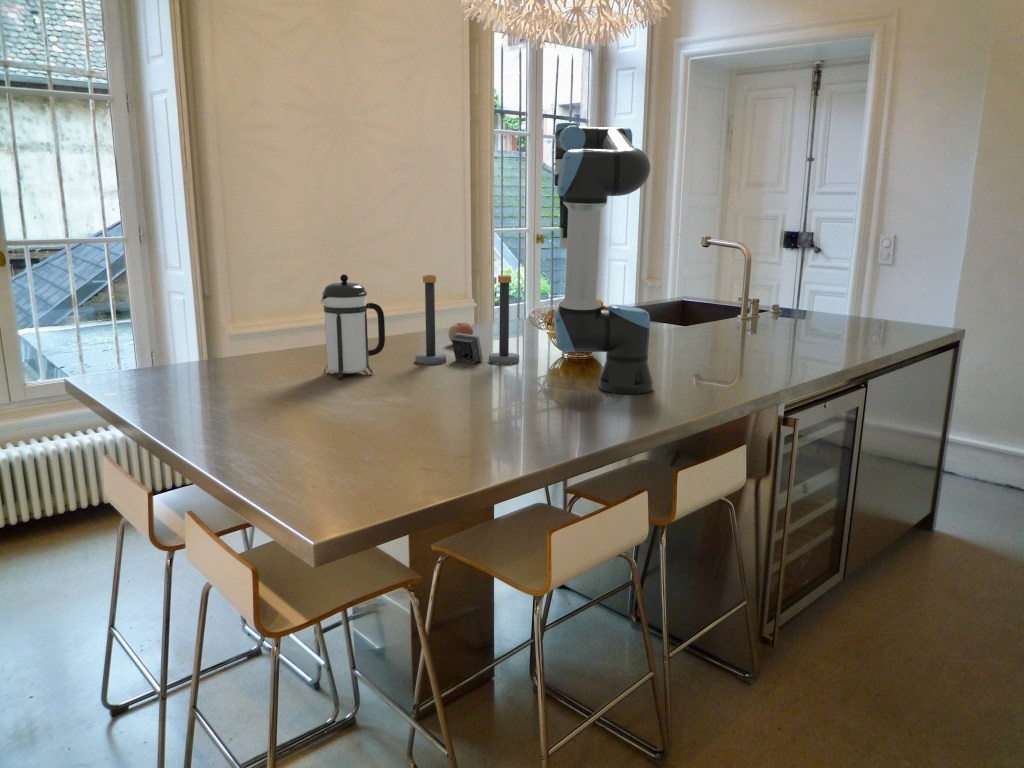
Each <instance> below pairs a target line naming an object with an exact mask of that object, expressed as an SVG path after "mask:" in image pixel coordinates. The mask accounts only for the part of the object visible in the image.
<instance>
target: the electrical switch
mask: <svg viewBox="0 0 1024 768" xmlns="http://www.w3.org/2000/svg"><path fill="white" fill-rule="evenodd" d="M451 344H452V348H453V349H452V350H453V353H454V357H455V358H454V359H455V361H456V360H460V361H459V362H462V361H468V362H474V363H473V364H476V363H479V362H478V361H481V362H483V361H484V359H483V352H482V348H481V347H482V346H481V342H480V336H479V335H476V334H473V335H469V334H461V333H456V334H455V337H454V339H452V342H451ZM468 362H467V363H468ZM475 362H476V363H475Z"/></svg>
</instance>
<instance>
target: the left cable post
mask: <svg viewBox="0 0 1024 768" xmlns="http://www.w3.org/2000/svg"><path fill="white" fill-rule="evenodd" d="M436 282H437V275H436V274H422V283H424V296H425V297H424V299H425V300H424V302H425V304H424V305H425V308H424V309H425V311H424V313H425V344H426V345H425V352H422V353H416V355H415V356H414V357H415V363H416V364H418V365H423V364H424V365H426V366H434V365H436V364H437V365H442V363H443V364H445V363H446V362H447V354H446V353H442V352H436V303H435V302H436V300H435V299H436V298H435V296H436V294H435V291H436V290H435V283H436ZM437 365H436V366H437Z"/></svg>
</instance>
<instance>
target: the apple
mask: <svg viewBox="0 0 1024 768" xmlns="http://www.w3.org/2000/svg"><path fill="white" fill-rule="evenodd" d="M456 333H461V334H469V335H474V330H473V327H472V326H471V325H470V324H469V323H468V322H456V323H454V324H452V325H451V326H450V327H449V330H448V338H449V341H450V342H451V343H452V339H454V337H455V334H456Z"/></svg>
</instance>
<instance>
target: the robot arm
mask: <svg viewBox="0 0 1024 768" xmlns="http://www.w3.org/2000/svg"><path fill="white" fill-rule="evenodd" d="M554 136H555V137H554V138H555V139H554V140H555V144H554V145H555V155H554V156H555V157H554V162H553V163H552V166H554V172H555V173H556V174H554V183H553V184H554V186H555V187H557V188H556V190H557V195H558V198H559V229H560V236H559V247H560V249H566V256H565V257H566V258H565V259H566V260H565V261H566V262H565V284H564V285H565V287H564V289H565V290H564V298H563V299H562V300H561V301H560V302H559V303H558V309H555V310H553V311H552V312H553V314H552V315H553V316H552V317H553V327H554V336H555V341H556V346H557V348H558V349H559V350H560V351H561V352H564V353H566V352H567V353H568V352H569V353H574V354H575V353H606V356H605V357H606V358H605V363H604V365H603V369H602V370H601V374H600V376H599V378H598V387H599V389H600V390H602V391H604V392H606V393H607V392H608V393H613V394H618V395H619V394H620V395H621V394H622V395H639V394H641V393H642V394H647V393H650V392H651V390H653V389H654V387H653V386H654V380H653V377H652V373H651V369H650V366H649V362H648V361H649V359H648V358H649V345H650V330H651V317H650V313H649V312H648V311H647V310H646V309H642V308H640V307H635V306H630V305H622V304H609V305H608V307H607V310H603V309H602V303H601V302H600V301H599V300H598V299H597V294H598V293H597V292H598V291H597V289H598V288H597V287H598V273H599V272H598V271H599V270H598V269H599V267H598V266H599V248H600V247H599V246H600V232H601V231H600V230H601V229H600V228H601V227H600V226H601V211H602V209H603V208H604V207H605V206H606V205H607V204H608V197H620V196H626V195H629V194H632V193H634V192H635V191H637V190H639V189H640V188H641V187H642V186H644V184H645V183H646V181H647V180H648V178H649V176H650V172H651V163H650V159H649V158H648V156H647V155H646V153H644V151H643V150H641V149H639V148H637V147H635V146H634V144H633V132H632V129H631V128H629V127H622V126H618V127H615V126H614V127H611V126H610V127H607V126H606V127H600V126H599V127H598V126H593V127H592V126H580V125H579V124H578V123H576V122H564V121H563V122H558V123H557V124H556V126H555V132H554ZM649 391H650V392H649Z"/></svg>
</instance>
